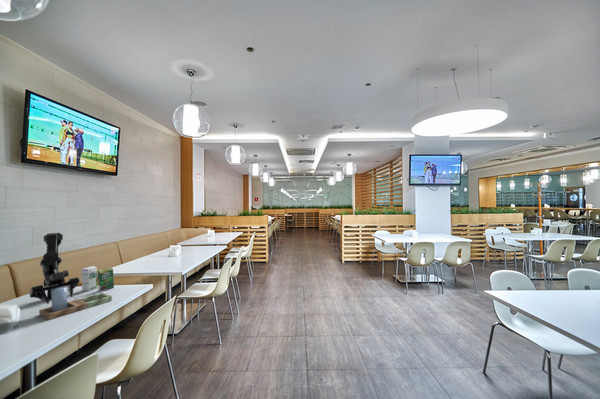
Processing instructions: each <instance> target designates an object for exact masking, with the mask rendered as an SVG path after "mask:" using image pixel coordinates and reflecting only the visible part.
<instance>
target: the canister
mask: <svg viewBox="0 0 600 399" xmlns="http://www.w3.org/2000/svg"><path fill="white" fill-rule="evenodd" d="M50 301H51V307H52V312H51V313H54V312H57V311H60V310H64V309H67V308H69V307H67V302H68V287H67V286H65V287H58V288H54V289H52V290H51V299H50Z"/></svg>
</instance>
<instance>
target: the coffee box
mask: <svg viewBox="0 0 600 399" xmlns="http://www.w3.org/2000/svg"><path fill="white" fill-rule="evenodd" d="M114 282H115V278H114V268H113V267H110V268H106V269H102V270H101V269H100V270H97V287H98V288H97V289H98V291H99V292H103V291H106V290H110V289H114V287H115V283H114Z"/></svg>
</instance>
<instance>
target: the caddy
mask: <svg viewBox="0 0 600 399" xmlns="http://www.w3.org/2000/svg"><path fill="white" fill-rule="evenodd" d="M111 301H113V296H112V295H109V294H106V293H104V292H101V293H96V294H92V295H88V296H85V297H81V298H78V299H73V300H70V301H67V307H68V308H67V309H64V310H60V311H57V312H54V313H52V306H50V307H46V308H42V309H39V310H38V315H39V316H40V317H42V318H44V319H45V320H47V321H49V320H52V319H56V318H59V317H62V316H66V315H69V314H71V313H75V312H79V311H82V310H86V309H88V308H92V307H96V306H98V305H102V304H105V303H107V302H111Z"/></svg>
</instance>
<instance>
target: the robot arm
mask: <svg viewBox="0 0 600 399" xmlns="http://www.w3.org/2000/svg"><path fill="white" fill-rule="evenodd" d="M63 240H64V234H62V233H61V232H52V233H46V234H45V235H43V242H45V245H46V253H44V254H43V256H42V259H41V260H40V262H39V263H40V266H41V268H42V274H43V277H44V279H43V284H39V285H35V286H32V287H31V288H30V290H29V297H30V298H34V299H37V298H38V299H39V300H41V301H43V302H44V303H46V304H50V300H51V290H52V289H54V288H58V287H67V293H68V294H69V297H70V298H73V294H74V289H75V288H76V287H78V286H79V283H80V278H79V277H73V278H69V279H68V281H66V279H65V278H66V277H69V271H68V270H67V269H65V270H62V271H59V266H60V265H59V264H61V263H62V262H63V261H62V260H63V259H62V257H60V256H59V255H60V254H59V247H60V245H62V241H63ZM46 291H47V292H46Z"/></svg>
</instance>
